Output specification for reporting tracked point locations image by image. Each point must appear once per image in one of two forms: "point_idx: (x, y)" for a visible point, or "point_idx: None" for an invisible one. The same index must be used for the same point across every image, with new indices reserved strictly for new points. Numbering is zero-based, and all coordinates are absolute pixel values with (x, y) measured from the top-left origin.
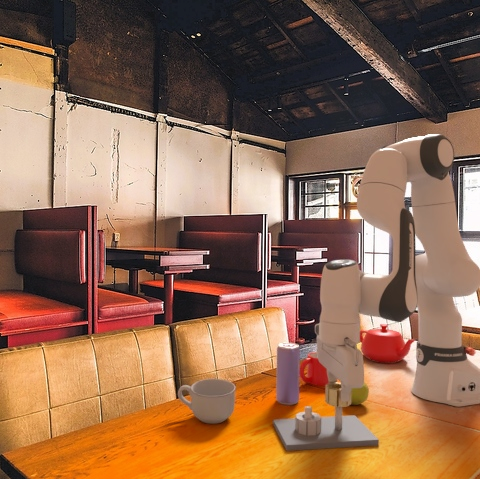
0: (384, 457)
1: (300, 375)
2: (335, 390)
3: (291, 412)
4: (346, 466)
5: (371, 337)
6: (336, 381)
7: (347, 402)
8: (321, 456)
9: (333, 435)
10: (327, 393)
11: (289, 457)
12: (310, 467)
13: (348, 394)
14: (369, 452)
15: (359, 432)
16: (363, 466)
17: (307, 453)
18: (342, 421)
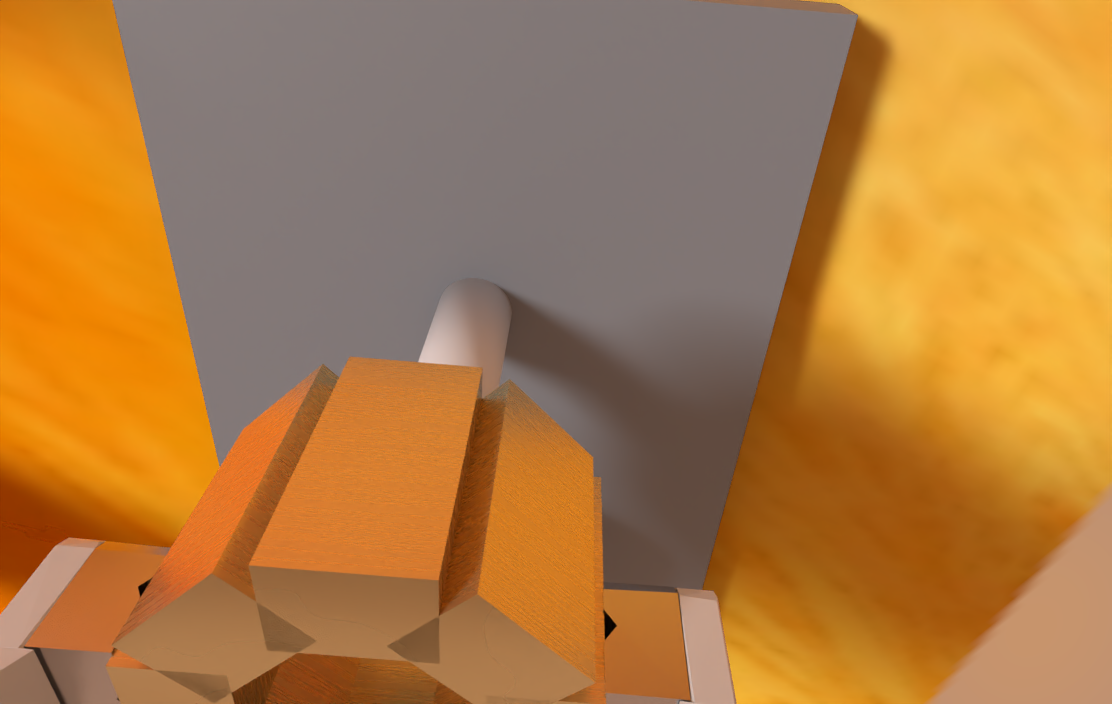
0: (1085, 89)
1: None
2: None
3: (16, 472)
4: (1021, 449)
5: None
6: (30, 653)
7: (590, 503)
8: (814, 531)
9: (617, 409)
10: None
11: (750, 667)
12: (911, 620)
13: (725, 689)
14: (925, 183)
15: (619, 150)
16: (1096, 345)
17: (741, 583)
18: (304, 199)
